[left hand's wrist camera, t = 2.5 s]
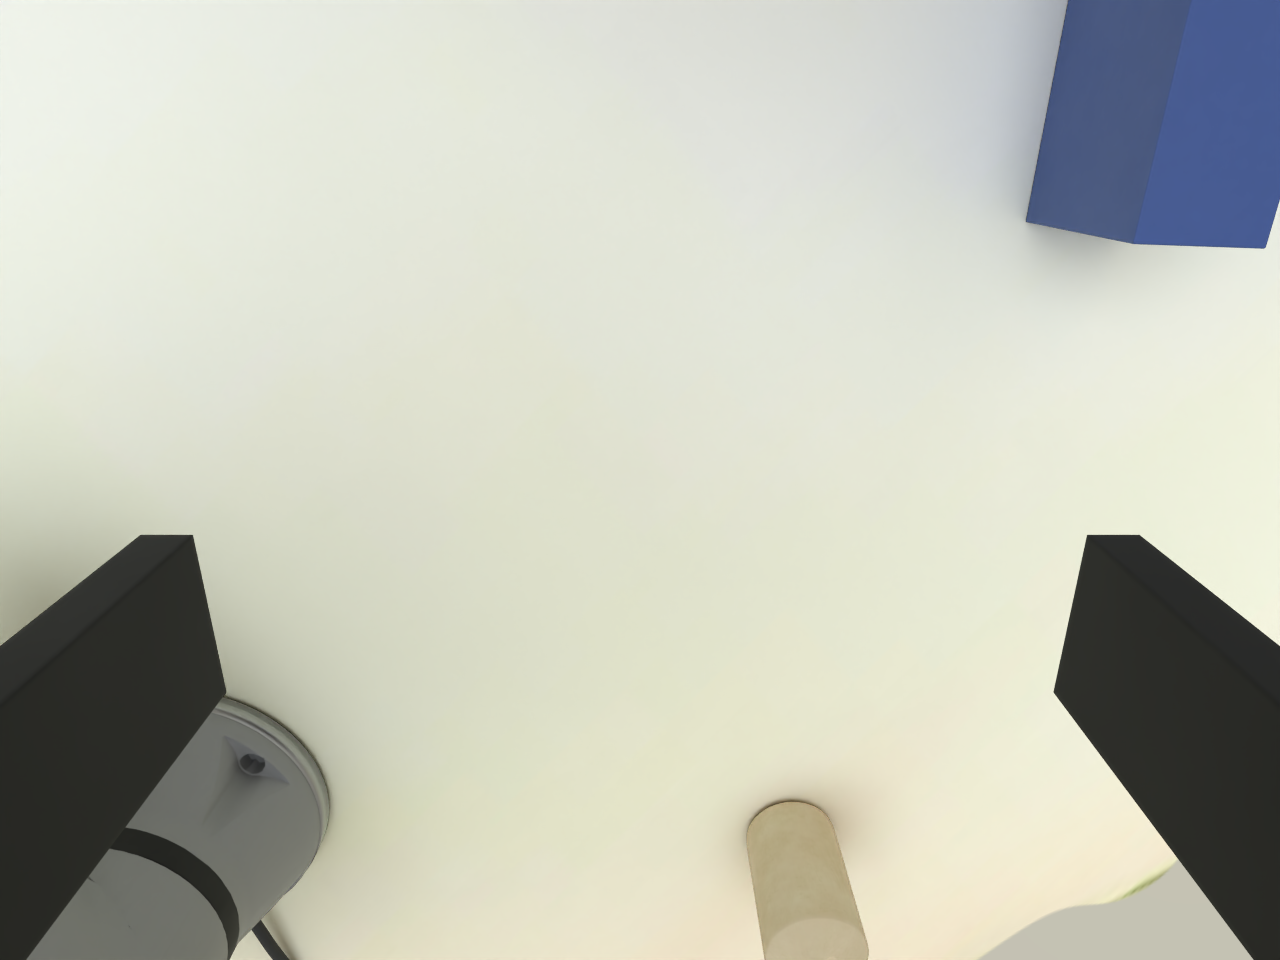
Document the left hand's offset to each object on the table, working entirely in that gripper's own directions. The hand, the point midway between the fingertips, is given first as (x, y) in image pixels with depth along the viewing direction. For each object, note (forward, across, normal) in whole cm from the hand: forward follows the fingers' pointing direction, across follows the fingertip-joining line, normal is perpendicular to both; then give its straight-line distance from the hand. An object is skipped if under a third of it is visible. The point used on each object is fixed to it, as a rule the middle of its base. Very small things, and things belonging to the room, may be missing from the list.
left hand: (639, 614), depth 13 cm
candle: (+30, -9, +34) cm, 46 cm away
